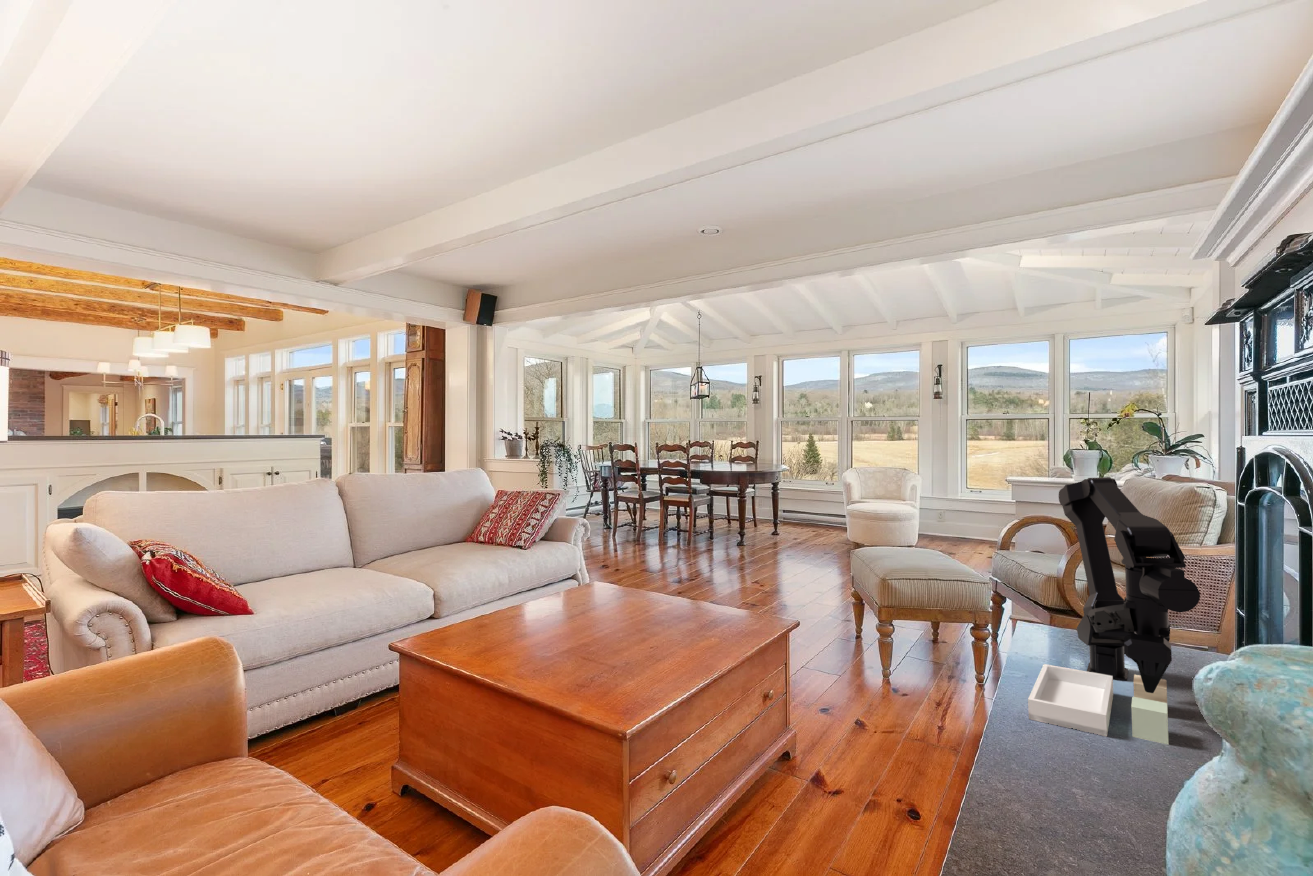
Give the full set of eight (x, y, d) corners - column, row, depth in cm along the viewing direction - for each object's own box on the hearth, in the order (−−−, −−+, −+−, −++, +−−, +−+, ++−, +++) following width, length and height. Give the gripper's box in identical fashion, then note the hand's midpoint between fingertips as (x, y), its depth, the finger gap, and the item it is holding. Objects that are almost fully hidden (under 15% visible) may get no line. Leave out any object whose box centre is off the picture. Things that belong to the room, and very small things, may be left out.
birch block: (1135, 701, 112) (1134, 674, 112) (1167, 708, 109) (1166, 680, 109) (1134, 711, 108) (1133, 683, 108) (1167, 717, 106) (1166, 689, 105)
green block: (1133, 726, 103) (1132, 696, 103) (1168, 733, 101) (1167, 703, 100) (1132, 737, 100) (1131, 706, 100) (1168, 745, 97) (1167, 713, 97)
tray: (1044, 681, 122) (1043, 664, 122) (1113, 694, 115) (1112, 676, 115) (1028, 719, 107) (1028, 699, 107) (1106, 736, 100) (1106, 715, 100)
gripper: (1094, 578, 121) (1097, 657, 121) (1086, 602, 106) (1089, 691, 107) (1168, 585, 114) (1171, 669, 114) (1170, 611, 99) (1173, 707, 100)
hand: (1149, 683), depth 109 cm, fingers open, 9 cm apart
